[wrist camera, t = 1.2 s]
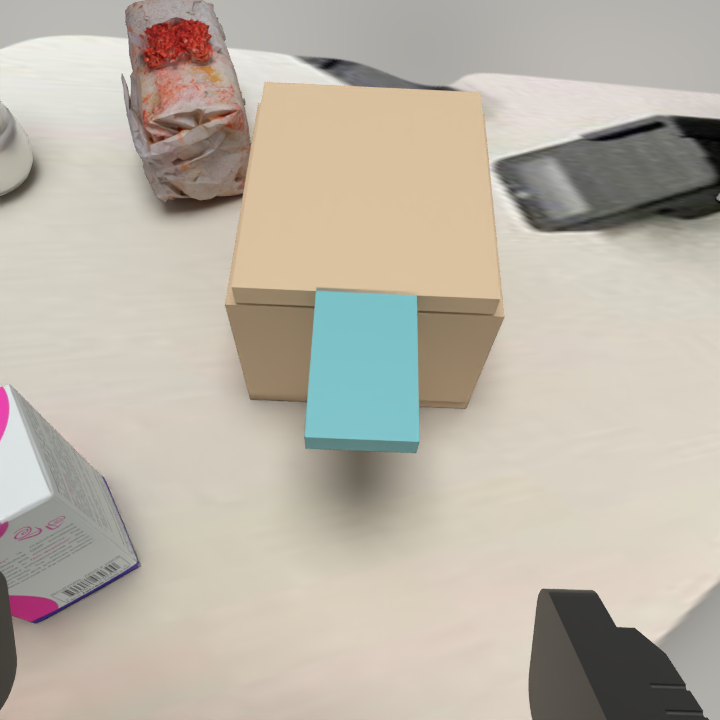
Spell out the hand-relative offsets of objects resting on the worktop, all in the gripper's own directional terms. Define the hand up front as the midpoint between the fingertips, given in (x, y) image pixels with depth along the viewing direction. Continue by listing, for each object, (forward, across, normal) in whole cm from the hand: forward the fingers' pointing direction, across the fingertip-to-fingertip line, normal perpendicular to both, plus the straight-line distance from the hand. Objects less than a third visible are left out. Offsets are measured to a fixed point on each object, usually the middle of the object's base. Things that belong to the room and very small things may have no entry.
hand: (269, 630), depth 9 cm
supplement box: (+22, +14, +12) cm, 28 cm away
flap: (+23, -1, -4) cm, 23 cm away
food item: (+43, +12, -9) cm, 45 cm away
